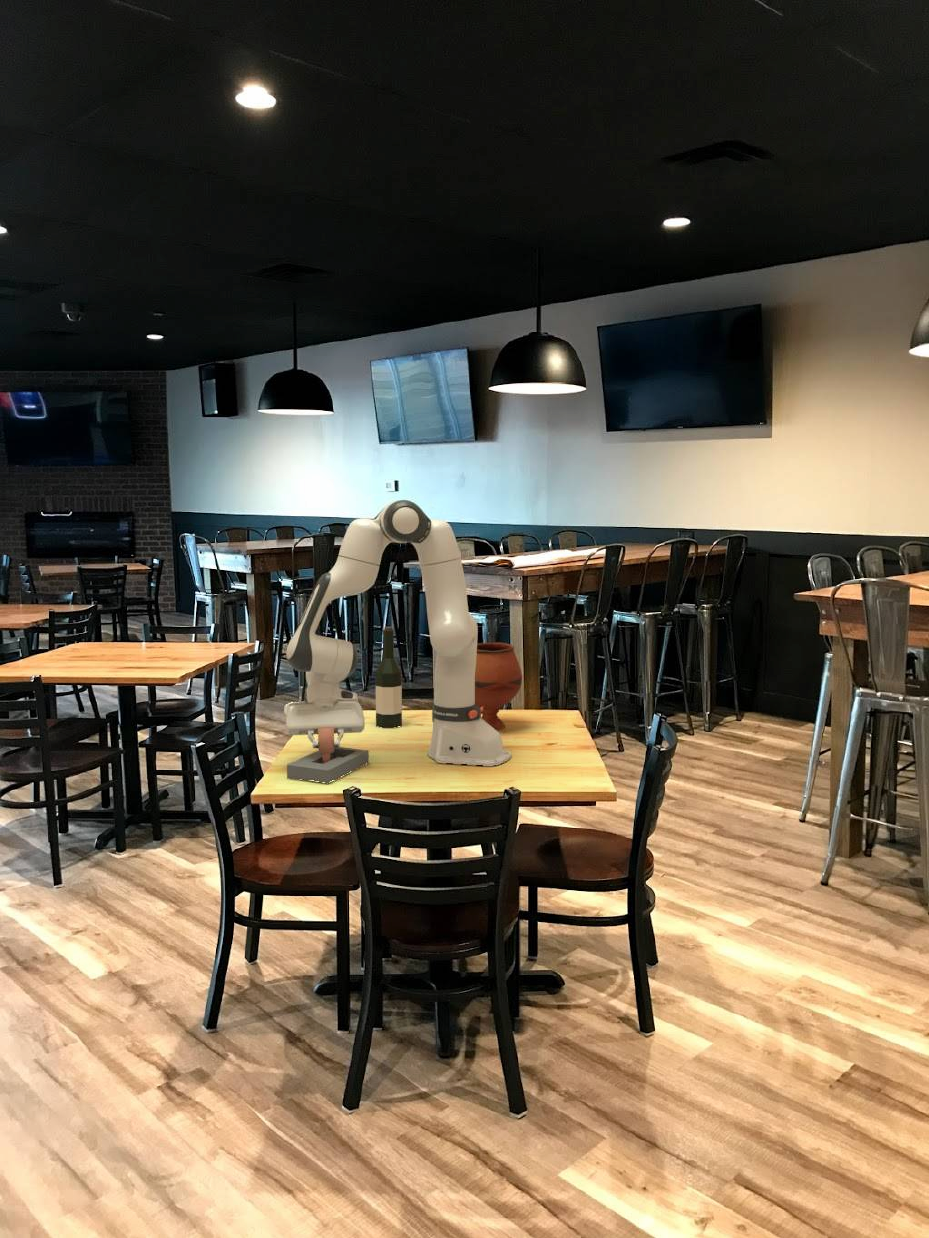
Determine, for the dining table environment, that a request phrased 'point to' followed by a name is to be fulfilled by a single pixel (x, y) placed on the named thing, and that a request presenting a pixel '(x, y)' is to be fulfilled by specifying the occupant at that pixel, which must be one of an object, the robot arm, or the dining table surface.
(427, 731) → the dining table surface
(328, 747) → the peg
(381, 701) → the wine bottle
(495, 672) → the goblet
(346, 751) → the keyhole plate
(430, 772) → the dining table surface
